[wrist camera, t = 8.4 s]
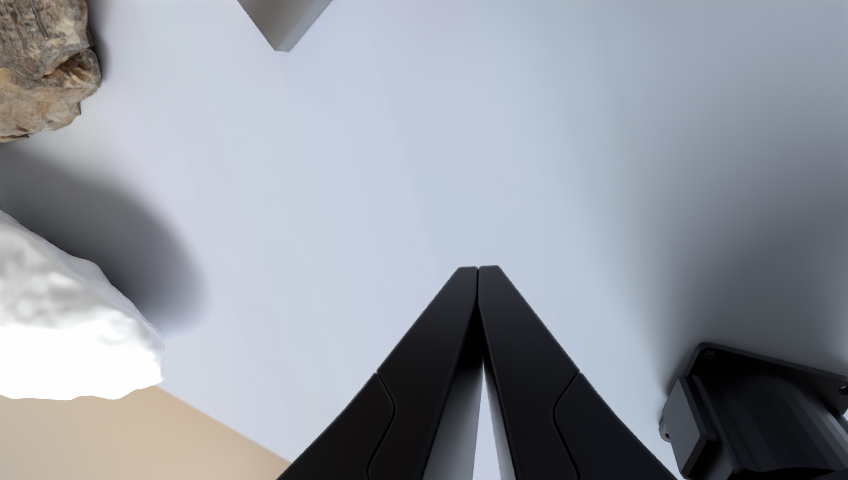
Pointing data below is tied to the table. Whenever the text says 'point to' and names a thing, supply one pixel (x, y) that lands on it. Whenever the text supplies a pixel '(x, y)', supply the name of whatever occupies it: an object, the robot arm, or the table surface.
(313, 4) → the oak floor board
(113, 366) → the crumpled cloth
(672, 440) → the robot arm
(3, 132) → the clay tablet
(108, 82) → the table surface
